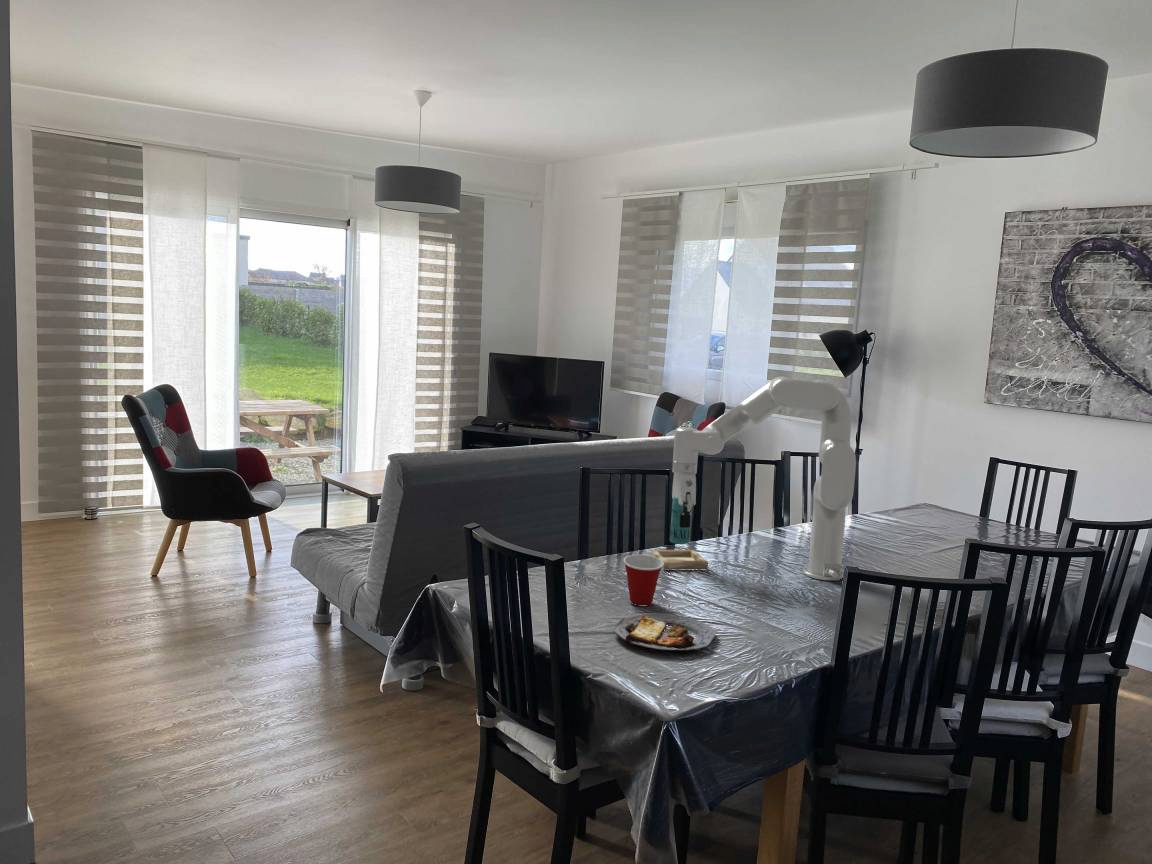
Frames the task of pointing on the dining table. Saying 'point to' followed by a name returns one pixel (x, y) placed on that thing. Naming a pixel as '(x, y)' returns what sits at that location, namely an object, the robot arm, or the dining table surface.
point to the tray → (680, 559)
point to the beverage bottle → (678, 525)
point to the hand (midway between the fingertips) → (681, 523)
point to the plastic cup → (642, 577)
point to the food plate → (651, 626)
